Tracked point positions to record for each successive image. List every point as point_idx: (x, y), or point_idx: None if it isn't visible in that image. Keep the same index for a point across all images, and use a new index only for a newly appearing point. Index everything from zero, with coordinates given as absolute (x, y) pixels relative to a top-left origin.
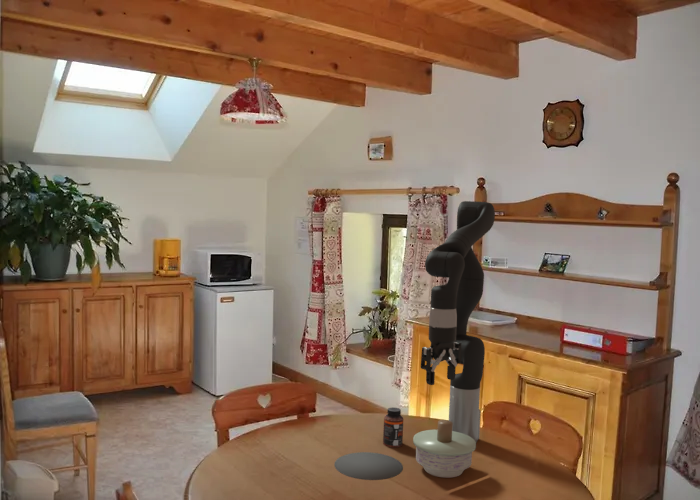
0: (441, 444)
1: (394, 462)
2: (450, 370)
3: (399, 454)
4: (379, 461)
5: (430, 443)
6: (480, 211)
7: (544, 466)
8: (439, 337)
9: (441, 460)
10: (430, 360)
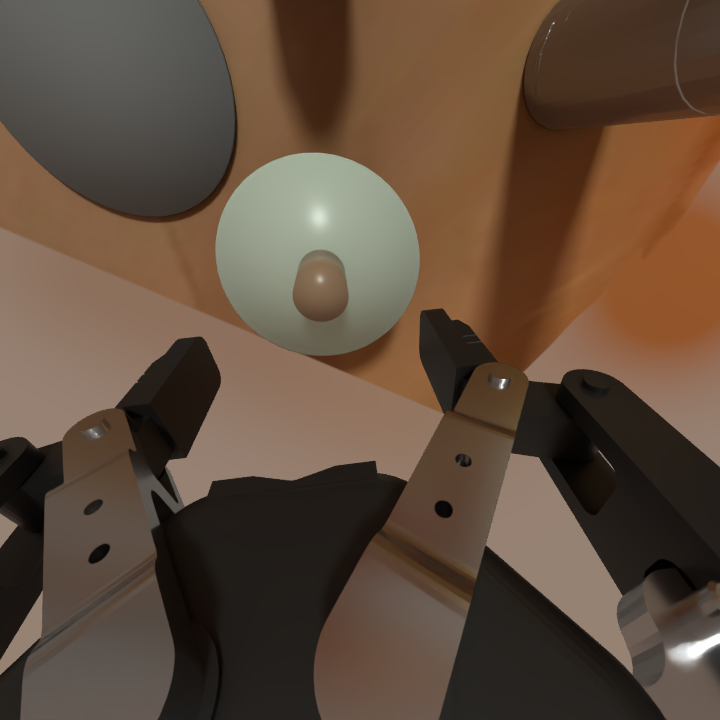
0: (289, 295)
1: (213, 121)
2: (441, 375)
3: (278, 40)
4: (161, 77)
5: (260, 274)
6: None
7: (527, 333)
8: None
9: None
10: (22, 613)
